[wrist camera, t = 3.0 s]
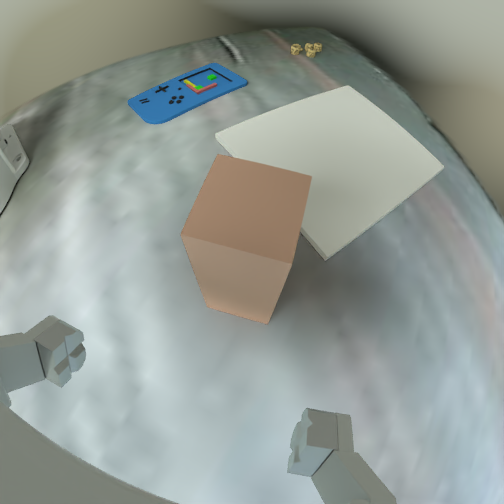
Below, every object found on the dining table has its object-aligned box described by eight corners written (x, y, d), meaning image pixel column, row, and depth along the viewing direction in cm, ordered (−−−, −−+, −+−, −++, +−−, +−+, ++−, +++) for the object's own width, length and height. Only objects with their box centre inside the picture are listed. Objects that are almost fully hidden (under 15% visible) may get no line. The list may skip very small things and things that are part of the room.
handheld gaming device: (125, 99, 35) (214, 60, 39) (127, 105, 36) (215, 66, 40) (151, 124, 32) (249, 80, 37) (153, 131, 33) (249, 86, 38)
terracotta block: (207, 307, 24) (180, 234, 13) (226, 252, 26) (217, 154, 15) (267, 324, 23) (292, 264, 13) (282, 268, 26) (312, 176, 15)
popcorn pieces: (321, 52, 45) (322, 44, 43) (317, 63, 42) (319, 54, 41) (293, 46, 45) (295, 37, 43) (288, 56, 43) (289, 47, 41)
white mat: (215, 138, 32) (215, 133, 31) (346, 89, 38) (348, 85, 37) (325, 261, 26) (327, 257, 25) (441, 170, 32) (444, 166, 31)
